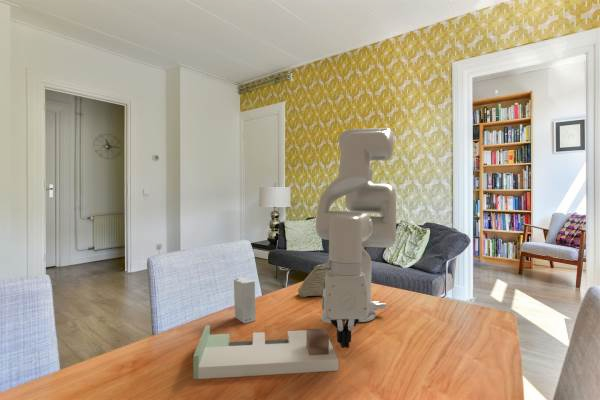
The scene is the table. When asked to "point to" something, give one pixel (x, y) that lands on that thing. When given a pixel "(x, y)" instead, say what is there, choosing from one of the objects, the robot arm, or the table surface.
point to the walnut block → (317, 342)
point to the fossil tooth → (313, 282)
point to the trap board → (257, 356)
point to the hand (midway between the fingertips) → (343, 344)
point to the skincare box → (244, 299)
